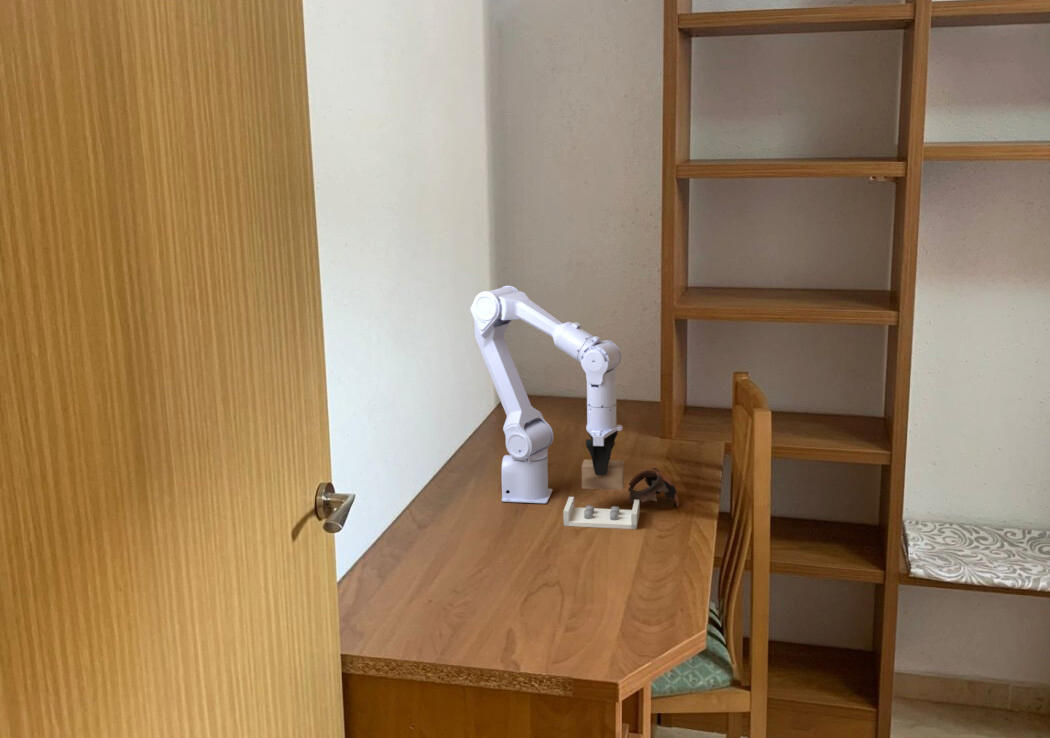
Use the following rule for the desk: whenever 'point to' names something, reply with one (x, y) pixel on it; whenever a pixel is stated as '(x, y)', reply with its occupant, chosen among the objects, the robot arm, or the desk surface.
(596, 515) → the peg stand
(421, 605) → the desk surface
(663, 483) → the pottery mug
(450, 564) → the desk surface
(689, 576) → the desk surface
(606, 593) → the desk surface
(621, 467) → the tan rectangular block
